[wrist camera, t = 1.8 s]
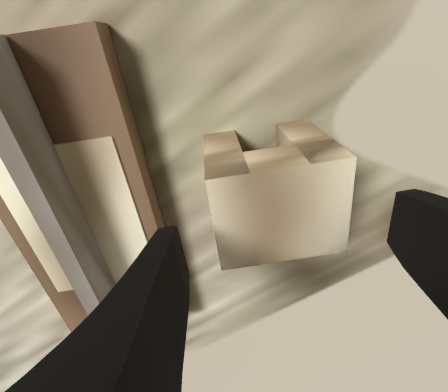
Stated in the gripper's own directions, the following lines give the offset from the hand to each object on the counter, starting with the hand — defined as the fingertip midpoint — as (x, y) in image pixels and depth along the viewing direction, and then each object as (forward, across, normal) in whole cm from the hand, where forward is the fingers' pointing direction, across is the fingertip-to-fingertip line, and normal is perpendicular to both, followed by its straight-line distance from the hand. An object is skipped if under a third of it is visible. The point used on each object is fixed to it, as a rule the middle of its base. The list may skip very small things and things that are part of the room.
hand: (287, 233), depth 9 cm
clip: (+6, 0, 0) cm, 6 cm away
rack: (+6, +9, +1) cm, 11 cm away
